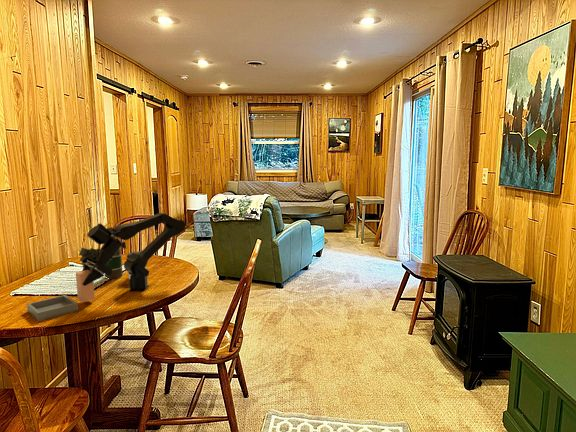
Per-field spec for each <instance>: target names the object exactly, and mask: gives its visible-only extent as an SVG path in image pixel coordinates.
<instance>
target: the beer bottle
mask: <svg viewBox="0 0 576 432" xmlns="http://www.w3.org/2000/svg"><path fill="white" fill-rule="evenodd" d="M114 228H115V227H106V229H108V230H110V229H114ZM111 237H112V238H113V239H115V238H116V237H114V236H111ZM113 258H114V259H113V260H111V259H110V261H109V262H108V263H107V264H106V266H108V267H109V268H111V269H112V274H111V275H110V277H109V276H107V275H105V274H104V275H105V276H104V278H105V277H107V278H109V279H108V280H116V279H120V278H122V277H123V263H122V262H123V261H122V260H123V259H122V250H121V247H120V248H119V249H118V251H117V252H116V253H115V254H114V256H113ZM107 278H106V279H107Z"/></svg>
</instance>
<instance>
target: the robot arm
mask: <svg viewBox="0 0 576 432" xmlns="http://www.w3.org/2000/svg"><path fill="white" fill-rule="evenodd" d="M160 224H163V225H164V227H163V230H162V231H161V232H160V233H159V234H158V235H157V236H156V237H155V238H154V239H152V241H150V242H149V244H148V245H146V246H145V247H144V248H143V249H142V250H141V251H139V252H140V253H138V254H135V253H132V254H131V255H130V256H129V257H128V258H127V257H126V258H125V261H124V263H123V264H124V265H123V268H124V270H125V271H126V272H127V273H129V274H130V275H131V276H130V279H129V278H128V283H129V285H128V286H129V292H144V291H147V289H148V288H149V287H150V284H149V285H148V277H149V274H150V270H148V269H147V265H148V262H149V260H150V259H151V258H152V257H153V256H154V255H155V254H156V253H157V252H158V251H160V249H161V248H163V246H164V245H165V244H166V243H168V242H169V241H170V239H172V238H174V237H176V236H178V235H180V234H182V233H183V232H184V231H185V229H186V222H185V221H184V220H182V219H179V218H176V217H175V218H174V217H172V216H170V215H169V214H167V213H164V212H158V213H156V214H153V215H152V216H148V217H146V218H142V219H140V220H137V221H135V222H130V223H129V222H128V223H123V224H118V225H116V226H114V227H113V228H114V229H110V230H108V229H107V227H105V226H104V224H102V223H101V222H100V223H97V225H95V226H92V228H90V229H89V230H88V232H87V234H86V235H87V238H89V239H90V240H92V241H93V242H95V243H96V244H97V245H99V246H100V245H102V246H101V247H100V248H92V247H91V248H86V247H81V249H80V252H79V254H78V256H81V258H79V261H80V262H81V265H82V270H81V271H85V270H89V271H90V273H89V275H88V276H87V278H86V279H85V281H84V283H83V285H84V286H86V285H88V284H89V283H91V282H93V283H94V282H95V281H97V280H99V279H101V278H103V277H105V275H107V276H109V277H110V275H111V274H112V269H111V268H109V267H108V266H106V264H107V263H108V262H109V261H110V259H111V260H113V259H114V258H113V256H114V254H115V253H116V252H117V251H118V249H119V248H120V249H125V250H126V249H127V247H126V246H127V245H126V241H129V240H130V239H132V238H134V237H135V236H137V234H138V233H140V232H142V231H144V230H147V229H150V228H152V227H155V226H157V225H160ZM111 236H114V237H115V239H113V238H112V237H111ZM121 240H122V241H121ZM145 267H146V268H145ZM129 274H128V275H129Z"/></svg>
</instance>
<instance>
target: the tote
mask: <svg viewBox="0 0 576 432" xmlns="http://www.w3.org/2000/svg"><path fill="white" fill-rule="evenodd" d="M26 308H27V312H28V314H30V315H31V317H33V318H34V319H35V320H37V322H41V321H46V320H49V319H52V318H53V319H54V318H57V317H60V316H63V315H64V316H65V315H66V314H67V315H68V314H72V313H75V312H78V311H79V302H77V301H75V300H74V299H73V298H71V297H69V296H68V295H67V294H64V295H63V294H62V295H60V296H55V297H51V298H46V299H45V298H44V299H41V300H38V301H34V302H29V303H28V302H27V303H26ZM71 312H72V313H71ZM56 316H57V317H56Z"/></svg>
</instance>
